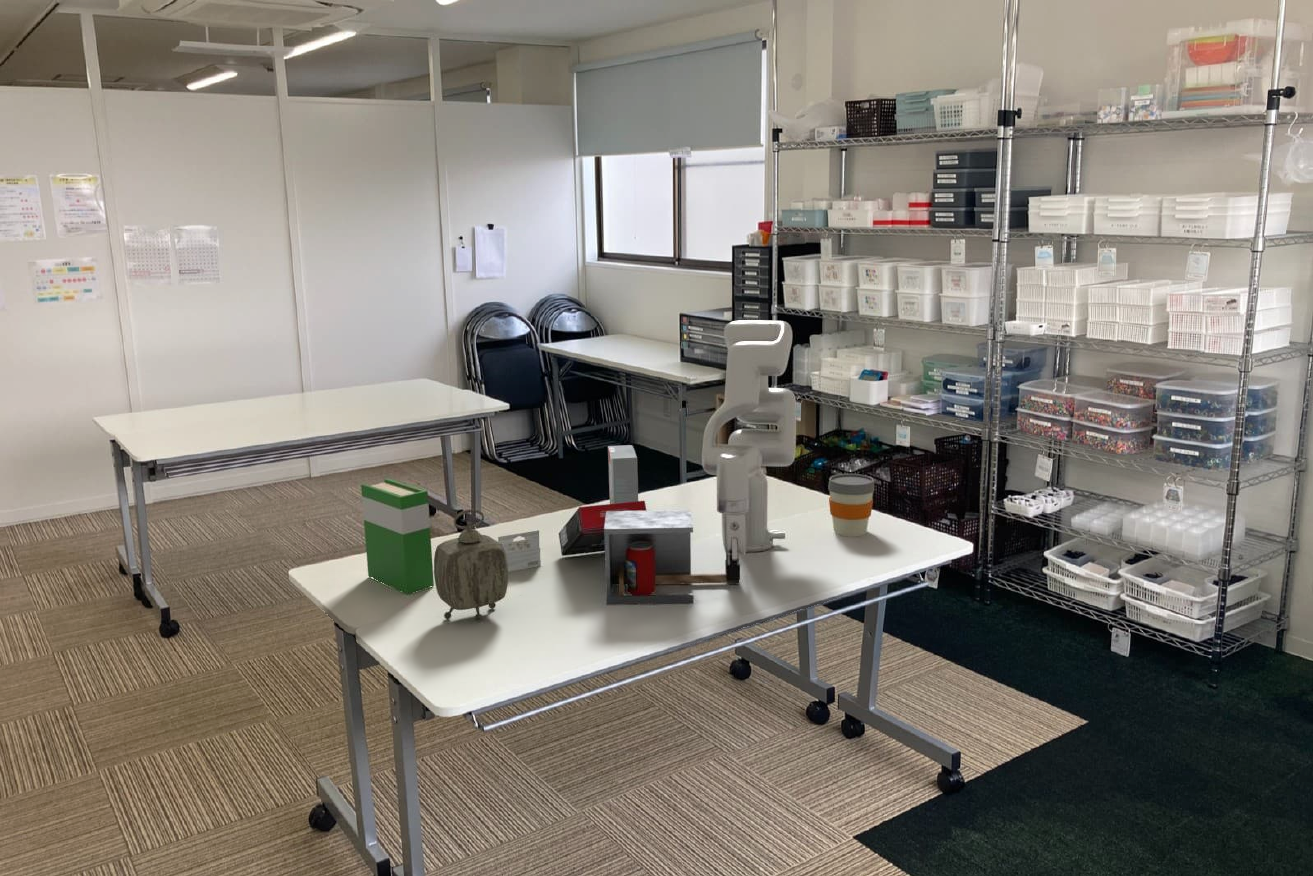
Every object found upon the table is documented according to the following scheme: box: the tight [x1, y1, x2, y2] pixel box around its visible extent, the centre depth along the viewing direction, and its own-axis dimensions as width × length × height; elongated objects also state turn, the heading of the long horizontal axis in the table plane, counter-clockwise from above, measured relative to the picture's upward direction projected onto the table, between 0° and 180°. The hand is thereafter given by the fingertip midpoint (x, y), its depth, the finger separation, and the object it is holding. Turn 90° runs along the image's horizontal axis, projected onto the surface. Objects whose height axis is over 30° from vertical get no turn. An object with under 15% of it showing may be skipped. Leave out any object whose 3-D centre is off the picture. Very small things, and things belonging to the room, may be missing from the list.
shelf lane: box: [604, 509, 695, 606], centre depth 242 cm, size 20×14×18 cm
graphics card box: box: [558, 500, 647, 557], centre depth 262 cm, size 17×7×27 cm
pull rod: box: [618, 550, 740, 595], centre depth 244 cm, size 28×11×8 cm, turn 91°
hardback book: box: [360, 478, 435, 596], centre depth 252 cm, size 18×7×24 cm, turn 46°
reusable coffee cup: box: [827, 473, 875, 537], centre depth 286 cm, size 13×13×15 cm
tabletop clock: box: [433, 508, 509, 622], centre depth 228 cm, size 14×9×25 cm, turn 123°
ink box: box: [497, 529, 542, 573], centre depth 261 cm, size 2×11×10 cm, turn 117°
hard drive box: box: [607, 444, 639, 504], centre depth 302 cm, size 16×8×20 cm, turn 6°
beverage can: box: [626, 541, 656, 595], centre depth 243 cm, size 7×7×12 cm
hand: (732, 577), depth 249 cm, fingers closed on pull rod, 2 cm apart
